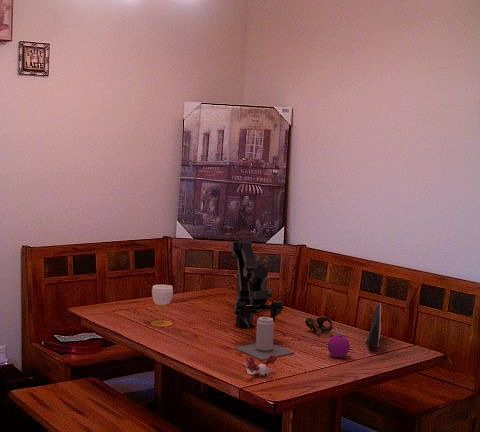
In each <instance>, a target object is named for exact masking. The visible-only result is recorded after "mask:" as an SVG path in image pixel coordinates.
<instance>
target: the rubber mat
mask: <svg viewBox="0 0 480 432" xmlns="http://www.w3.org/2000/svg"><path fill="white" fill-rule="evenodd" d="M234 350H236V351H239V352H240V353H243V354H246V355H247V356H249V357H252V356H253V359H256V360H258V361H261V362H263V361H267V360H268V359H269V357H270V355H271V354H272V355H273V356H274V355H276V358H277V359H278V358H280V357H281V358H282V357H286V356H291V355H295V352H294V351H292V350H290V349H287V348H285V347H283V346H280V345H277V344H275V343H273V349H272V350H270V351H268V352H263V351H259V350H258V349H257V348H256V342H255V343H251V344H244V345H240V346H235V347H234ZM270 353H271V354H270Z"/></svg>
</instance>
